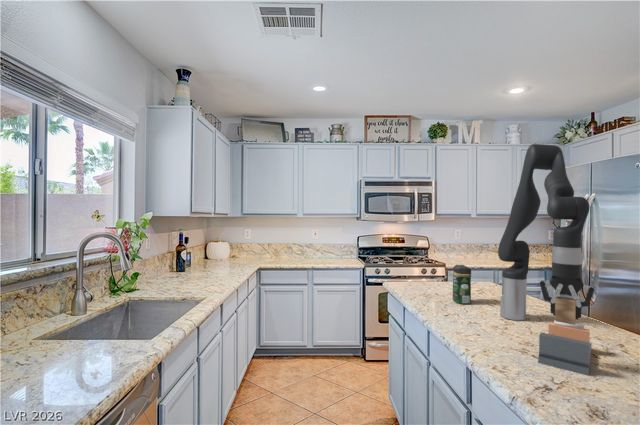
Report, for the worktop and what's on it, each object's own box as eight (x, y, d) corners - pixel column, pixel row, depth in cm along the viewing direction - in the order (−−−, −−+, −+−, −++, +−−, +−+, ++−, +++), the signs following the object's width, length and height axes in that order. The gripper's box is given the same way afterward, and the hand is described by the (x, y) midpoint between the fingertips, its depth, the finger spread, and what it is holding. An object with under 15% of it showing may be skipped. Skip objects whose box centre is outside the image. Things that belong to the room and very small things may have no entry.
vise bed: (538, 362, 104) (538, 336, 104) (548, 340, 122) (548, 317, 122) (588, 375, 96) (588, 347, 96) (591, 349, 114) (591, 325, 114)
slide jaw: (548, 338, 118) (548, 319, 118) (549, 336, 120) (549, 317, 120) (588, 347, 111) (589, 327, 111) (589, 344, 113) (589, 324, 113)
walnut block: (554, 321, 105) (555, 298, 105) (556, 318, 108) (556, 296, 108) (575, 324, 102) (575, 301, 102) (576, 321, 105) (576, 298, 105)
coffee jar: (450, 299, 177) (451, 263, 177) (466, 300, 176) (467, 263, 176) (455, 304, 167) (456, 266, 167) (472, 305, 166) (473, 267, 166)
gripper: (537, 260, 107) (536, 315, 107) (596, 265, 98) (595, 325, 98) (540, 258, 113) (540, 309, 113) (596, 262, 103) (595, 319, 103)
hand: (565, 316), depth 105 cm, fingers closed on walnut block, 5 cm apart
